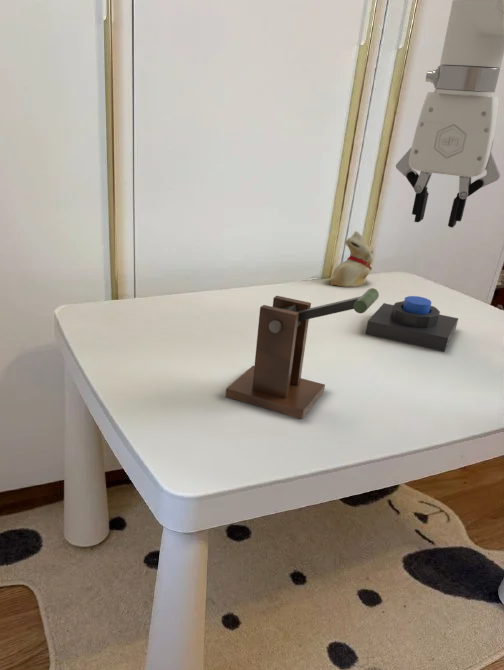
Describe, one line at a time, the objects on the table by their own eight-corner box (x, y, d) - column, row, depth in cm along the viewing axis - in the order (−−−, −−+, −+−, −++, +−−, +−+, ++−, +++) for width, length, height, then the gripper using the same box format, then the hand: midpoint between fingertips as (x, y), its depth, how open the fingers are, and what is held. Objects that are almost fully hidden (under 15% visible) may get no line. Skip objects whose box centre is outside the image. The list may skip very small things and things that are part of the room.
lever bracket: (324, 392, 80) (338, 304, 74) (301, 419, 74) (315, 324, 68) (252, 373, 84) (260, 287, 78) (225, 396, 78) (232, 305, 72)
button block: (455, 331, 102) (461, 307, 100) (444, 351, 94) (450, 326, 92) (381, 315, 106) (385, 292, 104) (365, 334, 98) (369, 309, 97)
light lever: (381, 303, 70) (375, 282, 70) (369, 316, 66) (363, 294, 66) (284, 325, 77) (278, 306, 76) (268, 338, 73) (262, 318, 73)
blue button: (431, 309, 99) (433, 299, 98) (426, 317, 96) (428, 306, 95) (405, 304, 101) (407, 294, 100) (399, 311, 98) (402, 301, 97)
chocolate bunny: (371, 289, 119) (381, 235, 114) (329, 285, 119) (337, 232, 115) (368, 280, 124) (377, 228, 119) (327, 277, 124) (335, 225, 119)
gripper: (395, 78, 84) (371, 219, 92) (533, 87, 77) (493, 237, 86) (408, 78, 90) (384, 210, 98) (536, 86, 83) (498, 227, 92)
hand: (435, 221), depth 92 cm, fingers open, 4 cm apart
